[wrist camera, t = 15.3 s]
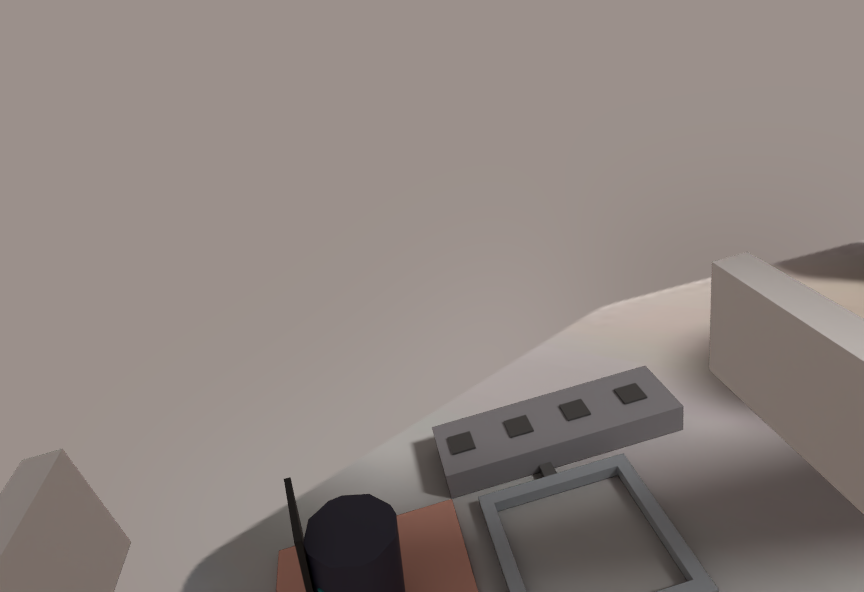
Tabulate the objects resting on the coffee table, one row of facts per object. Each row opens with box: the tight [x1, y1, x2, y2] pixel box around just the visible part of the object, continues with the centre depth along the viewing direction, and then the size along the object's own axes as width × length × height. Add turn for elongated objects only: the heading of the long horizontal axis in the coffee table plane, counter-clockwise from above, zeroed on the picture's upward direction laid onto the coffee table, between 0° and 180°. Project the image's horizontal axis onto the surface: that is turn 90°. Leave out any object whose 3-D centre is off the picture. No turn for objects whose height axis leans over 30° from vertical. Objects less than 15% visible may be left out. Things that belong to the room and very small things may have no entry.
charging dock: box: [432, 366, 719, 592], centre depth 42 cm, size 20×20×3 cm
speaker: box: [284, 478, 405, 592], centre depth 36 cm, size 8×6×10 cm
